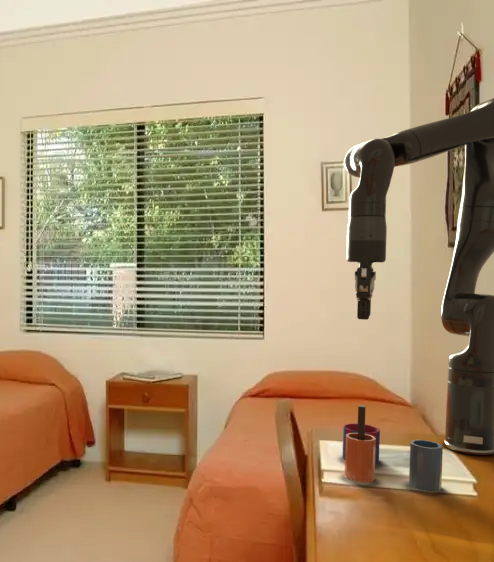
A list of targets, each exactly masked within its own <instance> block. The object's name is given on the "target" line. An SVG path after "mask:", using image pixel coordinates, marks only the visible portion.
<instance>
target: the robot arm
mask: <svg viewBox="0 0 494 562" xmlns="http://www.w3.org/2000/svg"><path fill="white" fill-rule="evenodd" d="M463 146H465V147H464V149H465V151H464V152H465V153H464V170H463V178H462V188H461V196H460V202H459V207H458V215H457V220H456V221H457V223H456V232H455V233H456V234H455V241H454V248H453V253H452V260H451V265H450V269H449V273H448V278H447V282H446V285H445V290H444V295H443V297H442V303H441V307H440V309H441V310H440V320H441V324H442V327H443V328H444V330H445V331H446V332H447V333H449V334H452V335H457V336H463V337H469V339H468V345H467V346H466V348H464V349H462V350H460V351H454V352H451V353H449V355H448V358H447V359H448V360H447V379H446V380H447V381H446V382H447V384H446V407H445V408H446V411H445V432H444V433H445V434H444V435H445V436H444V446H445V447H446V448H447V449H449V450H452V451H454V452H458V453H462V454H466V455H471V456H472V455H473V456H492V455H494V294H485V293H476V287H477V282H478V278H479V276H480V273H481V271H482V270H483V267H484V266H485V265H486V263H487V261H488V260H489V259H490V258H491V257H492V255H493V254H494V97H492V98H490V99H487V100H485V101H482V102H480V103H478V104H476V105H475V106H474V107H473V108H471V110H470V111H469V112H466V113H463V114H459V115H456V116H451V117H448V118H444V119H440V120H436V121H431V122H429V123H428V122H427V123H425V124H421V125H418V126H414V127H411V128H407V129H404V130H401V131H398V132H396V133H393V134H392V135H389V136H386V137H382V138H373V139H370V140H367V141H364V142H361V143H358V144H355V145H354V146H352V147H351V148H349V150H348V151H347V152H346V154H345V156H344V160H343V165H344V168H345V170H346V172H347V173H348V174H349V175H350V176H352V177H355V178H359V181H358V185H357V187H355V189H353V190H352V191H350V195H349V200H348V201H349V205H348V222H347V226H346V227H347V228H346V257H345V258H346V261H347V262H349V263H358V267H357V269H356V270H355V271H354V281H355V284H354V289H355V292H356V293H355V296H356V297H355V299H356V301H357V309H356V310H357V311H356V312H357V313H356V315H357V316H356V318H357V319H358V320H369V319H370V316H371V309H372V298H373V293H374V291H375V282H376V279H377V271H374V267H373V264H374V263H384V262H386V261H387V236H388V235H387V234H388V233H387V232H388V231H387V229H388V227H387V226H388V225H387V195H388V191H389V189H390V186H391V182H392V178H393V173H394V170H395V167H400V166H407V165H411V164H415V163H418V162H421V161H425V160H428V159H430V158H431V159H432V158H434V157H436V156H439V155H443V154H445V153H448V152H450V151H453V150H455V149H458V148H461V147H463Z"/></svg>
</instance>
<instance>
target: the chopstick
mask: <svg viewBox="0 0 494 562" xmlns="http://www.w3.org/2000/svg"><path fill="white" fill-rule="evenodd" d="M366 409H367V406H366V405H362V404H358V406H357V424H358V430H357V439H358V440H365V424H366Z"/></svg>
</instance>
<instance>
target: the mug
mask: <svg viewBox="0 0 494 562" xmlns="http://www.w3.org/2000/svg"><path fill="white" fill-rule="evenodd" d="M342 429H343V430H342V459H343V460H344V461H345V446H346V434H348V433H357V430H358V422H357V423H355V422H354V423H351V422H350V423H345V424H344V425H343V428H342ZM365 434H368V435H371V436H374V437H375V438H376V448H375V465H377V464H379V463H380V438H381V430H380V428H379V427H377V426H374V425H371V424H366V423H365Z"/></svg>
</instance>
